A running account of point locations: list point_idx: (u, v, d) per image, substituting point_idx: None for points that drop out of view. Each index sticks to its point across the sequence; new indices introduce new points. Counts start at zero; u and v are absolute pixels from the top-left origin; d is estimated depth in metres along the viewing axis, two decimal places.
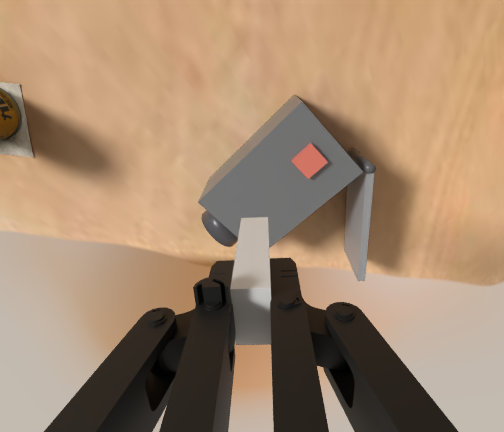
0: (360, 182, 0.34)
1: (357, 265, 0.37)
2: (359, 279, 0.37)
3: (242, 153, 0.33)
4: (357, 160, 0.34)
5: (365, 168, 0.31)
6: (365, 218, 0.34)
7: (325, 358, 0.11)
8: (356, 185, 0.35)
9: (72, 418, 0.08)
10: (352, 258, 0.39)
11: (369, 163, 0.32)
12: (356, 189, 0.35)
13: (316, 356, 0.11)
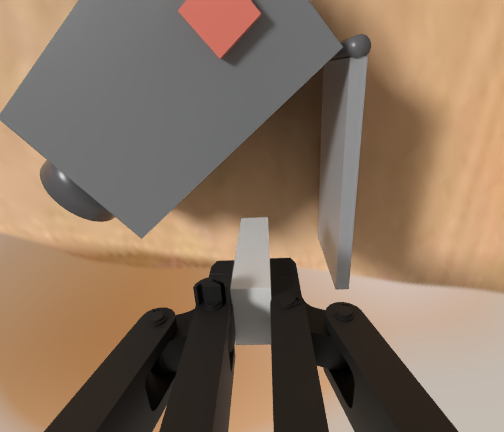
0: (340, 90, 0.17)
1: (335, 260, 0.20)
2: (338, 286, 0.20)
3: None
4: None
5: (349, 44, 0.14)
6: (349, 162, 0.17)
7: (325, 358, 0.11)
8: (333, 105, 0.18)
9: (72, 418, 0.08)
10: (328, 248, 0.22)
11: None
12: (333, 113, 0.18)
13: (316, 356, 0.11)
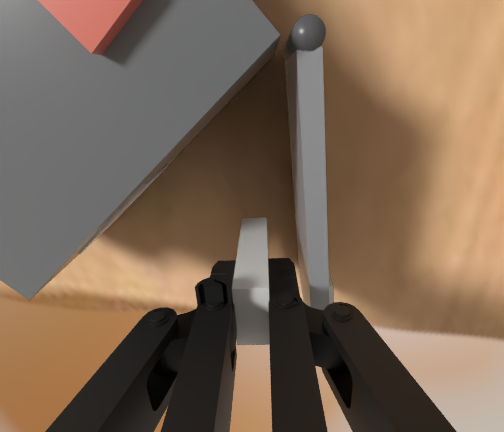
0: (295, 98, 0.12)
1: None
2: None
3: None
4: (287, 42, 0.12)
5: (292, 30, 0.10)
6: (312, 198, 0.12)
7: (322, 358, 0.11)
8: (293, 117, 0.14)
9: (74, 418, 0.08)
10: (305, 299, 0.17)
11: None
12: (294, 128, 0.14)
13: (314, 356, 0.11)
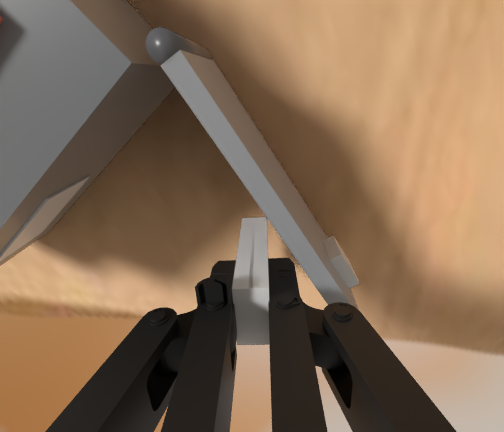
0: None
1: None
2: None
3: None
4: None
5: (147, 51, 0.10)
6: (254, 185, 0.12)
7: (322, 358, 0.11)
8: None
9: (74, 418, 0.08)
10: None
11: None
12: None
13: (314, 356, 0.11)
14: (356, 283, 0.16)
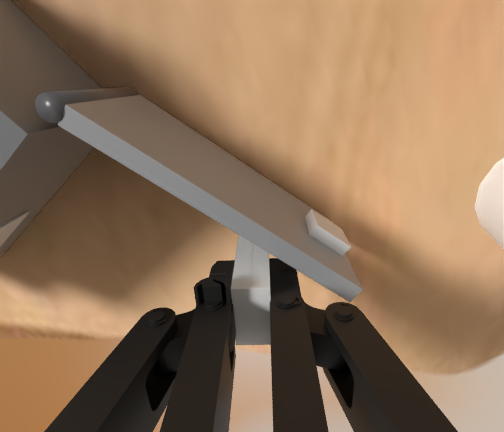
0: None
1: None
2: (348, 297, 0.13)
3: None
4: None
5: (42, 118, 0.11)
6: (187, 195, 0.12)
7: (324, 358, 0.11)
8: None
9: (72, 418, 0.08)
10: None
11: None
12: None
13: (315, 356, 0.11)
14: (347, 248, 0.15)
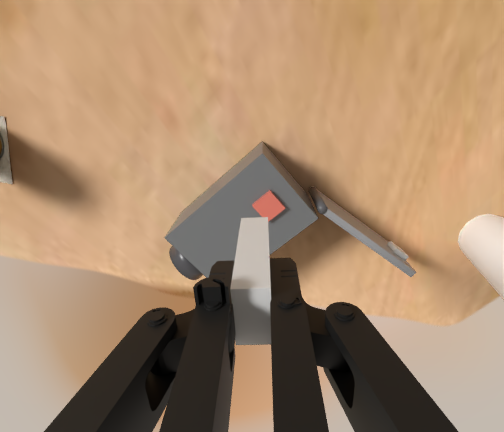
0: None
1: None
2: (410, 275, 0.36)
3: (209, 194, 0.36)
4: None
5: None
6: (360, 237, 0.35)
7: (324, 358, 0.11)
8: None
9: (72, 418, 0.08)
10: None
11: (318, 206, 0.34)
12: None
13: (316, 356, 0.11)
14: (407, 257, 0.38)
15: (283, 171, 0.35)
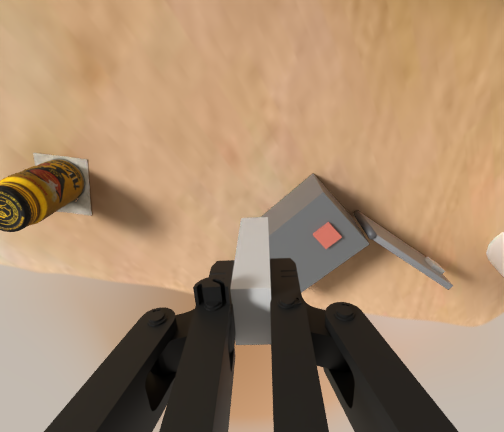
0: None
1: None
2: (448, 288, 0.42)
3: (271, 223, 0.41)
4: (362, 227, 0.42)
5: None
6: (404, 258, 0.40)
7: (324, 358, 0.11)
8: None
9: (72, 418, 0.08)
10: None
11: (368, 232, 0.39)
12: None
13: (316, 356, 0.11)
14: (443, 271, 0.43)
15: (335, 202, 0.41)
